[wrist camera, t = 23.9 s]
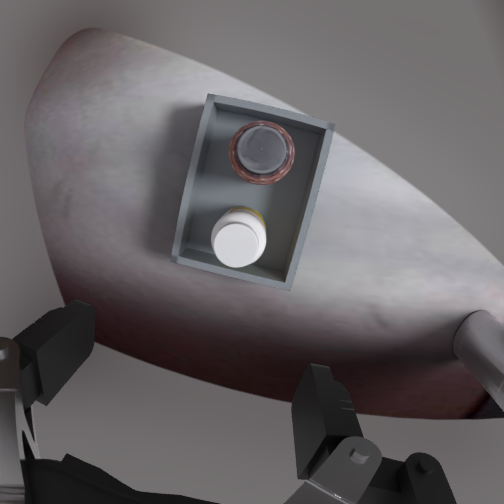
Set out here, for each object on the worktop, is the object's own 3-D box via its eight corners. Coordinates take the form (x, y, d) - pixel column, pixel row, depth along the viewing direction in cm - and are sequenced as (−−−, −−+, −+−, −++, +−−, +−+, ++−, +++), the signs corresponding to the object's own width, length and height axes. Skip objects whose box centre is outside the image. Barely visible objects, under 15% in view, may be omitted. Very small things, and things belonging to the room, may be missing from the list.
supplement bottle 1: (284, 187, 35) (293, 192, 24) (232, 180, 35) (219, 182, 24) (291, 136, 34) (303, 120, 23) (239, 129, 34) (229, 110, 23)
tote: (326, 130, 34) (335, 124, 29) (286, 276, 39) (290, 291, 34) (215, 103, 34) (207, 93, 29) (181, 250, 38) (170, 261, 34)
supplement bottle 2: (234, 258, 38) (225, 286, 28) (211, 219, 37) (193, 235, 27) (274, 236, 37) (277, 257, 27) (251, 196, 36) (246, 204, 26)
